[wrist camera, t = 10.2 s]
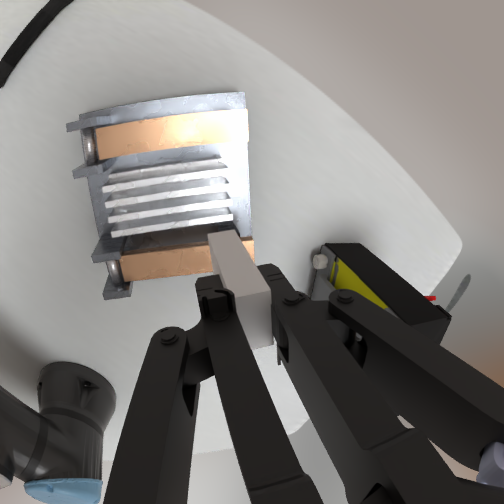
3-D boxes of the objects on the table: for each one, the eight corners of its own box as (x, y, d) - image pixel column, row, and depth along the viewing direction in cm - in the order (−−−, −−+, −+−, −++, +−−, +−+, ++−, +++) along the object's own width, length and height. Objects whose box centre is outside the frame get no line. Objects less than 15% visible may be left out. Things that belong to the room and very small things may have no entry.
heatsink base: (114, 268, 38) (102, 307, 30) (86, 114, 29) (60, 115, 22) (247, 249, 42) (266, 283, 34) (239, 93, 33) (258, 87, 25)
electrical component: (311, 243, 44) (393, 329, 26) (369, 243, 46) (457, 314, 29) (292, 339, 51) (342, 434, 33) (344, 333, 53) (402, 414, 36)
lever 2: (126, 276, 32) (124, 281, 31) (120, 251, 31) (118, 256, 30) (252, 261, 34) (254, 266, 33) (251, 235, 33) (253, 240, 32)
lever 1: (103, 158, 27) (99, 160, 25) (99, 128, 25) (95, 128, 24) (246, 139, 28) (248, 140, 27) (245, 109, 27) (246, 109, 26)
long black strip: (93, -14, 22) (87, -22, 20) (5, 89, 25) (-6, 89, 22) (79, -23, 21) (72, -32, 18) (-7, 78, 23) (-18, 77, 21)
